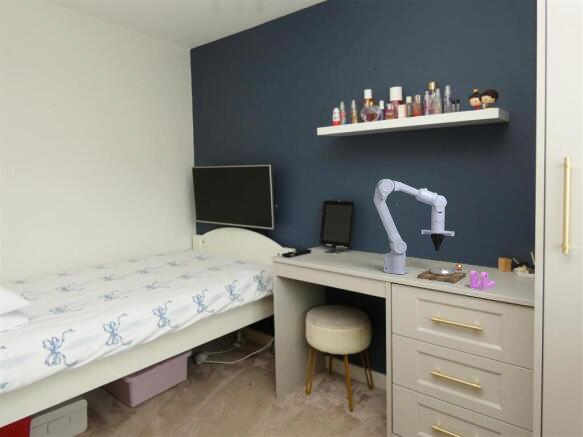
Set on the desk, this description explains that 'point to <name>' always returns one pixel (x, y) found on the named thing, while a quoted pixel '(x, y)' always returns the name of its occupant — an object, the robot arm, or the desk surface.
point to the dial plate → (442, 277)
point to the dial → (445, 270)
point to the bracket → (483, 282)
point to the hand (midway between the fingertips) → (437, 250)
